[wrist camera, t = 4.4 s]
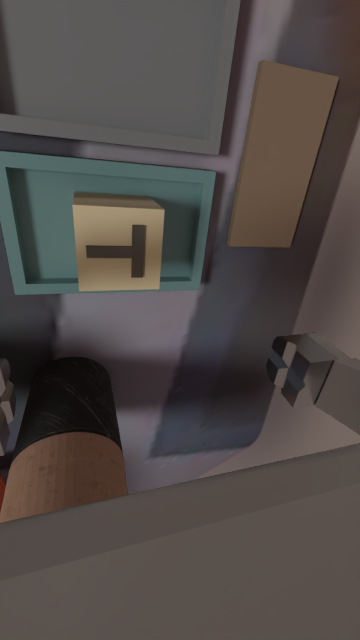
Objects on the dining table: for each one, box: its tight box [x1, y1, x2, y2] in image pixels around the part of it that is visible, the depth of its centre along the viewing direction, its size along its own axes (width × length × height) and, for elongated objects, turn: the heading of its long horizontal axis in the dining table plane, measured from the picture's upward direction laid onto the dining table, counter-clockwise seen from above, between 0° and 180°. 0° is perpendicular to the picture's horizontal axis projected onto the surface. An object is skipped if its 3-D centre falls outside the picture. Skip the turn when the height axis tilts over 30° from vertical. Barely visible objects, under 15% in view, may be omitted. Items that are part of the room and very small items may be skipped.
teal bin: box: [0, 150, 216, 295], centre depth 21 cm, size 9×14×2 cm, turn 84°
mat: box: [227, 60, 339, 247], centre depth 23 cm, size 12×6×1 cm, turn 174°
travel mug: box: [0, 357, 128, 523], centre depth 20 cm, size 8×8×20 cm
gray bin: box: [0, 0, 241, 155], centre depth 16 cm, size 9×14×2 cm, turn 84°
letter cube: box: [72, 191, 165, 291], centre depth 19 cm, size 5×5×5 cm
